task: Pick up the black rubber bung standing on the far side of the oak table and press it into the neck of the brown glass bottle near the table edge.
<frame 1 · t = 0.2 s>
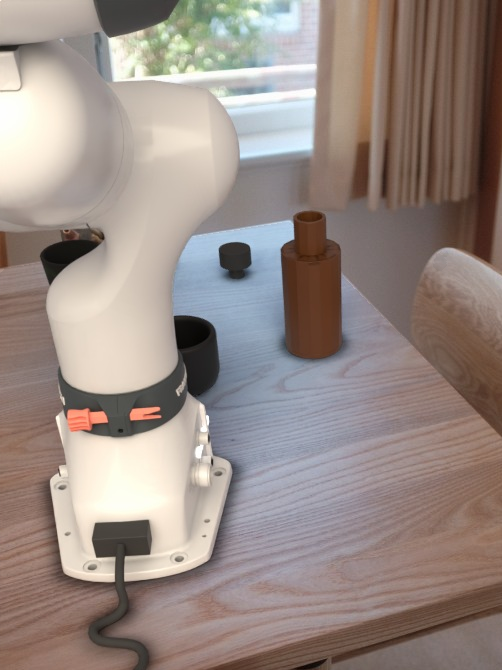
hand: (92, 20, 89), 39 cm above the table, tool pointing down, fingers open, 8 cm apart
bung: (236, 275, 133), on the table
cup: (90, 339, 119), on the table
mug: (173, 389, 110), on the table
bottle: (313, 344, 117), on the table
figurine 2: (88, 305, 127), on the table
figurine: (128, 272, 135), on the table
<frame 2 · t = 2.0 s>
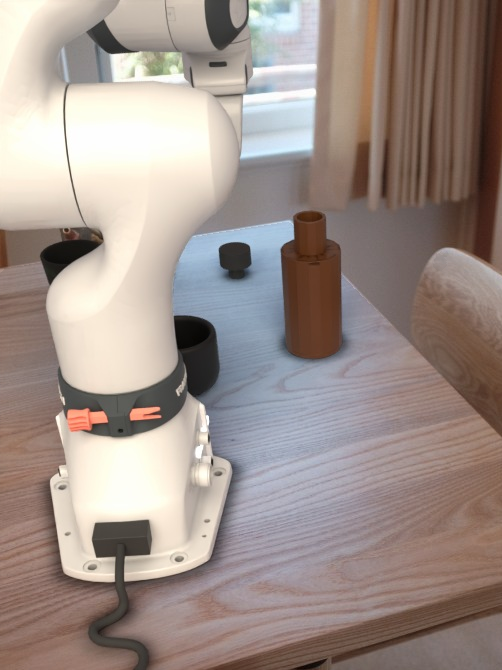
hand: (227, 171, 124), 15 cm above the table, tool pointing down, fingers open, 8 cm apart
nothing on the table moved.
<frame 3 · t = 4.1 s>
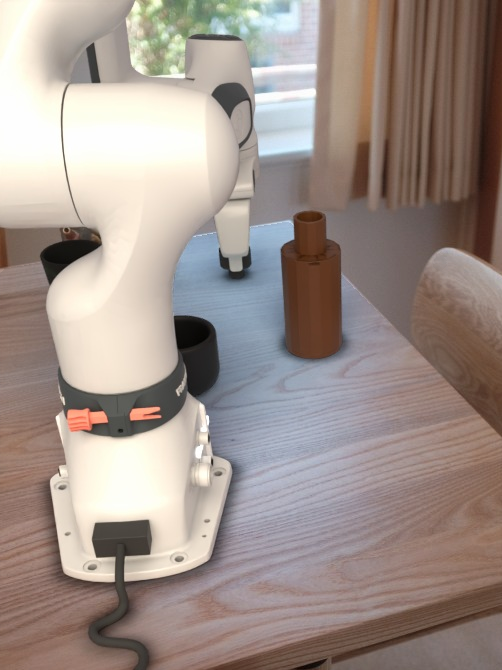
hand: (235, 260, 132), 2 cm above the table, tool pointing down, fingers closed on bung, 4 cm apart
bung: (236, 275, 133), on the table, touching gripper
everything else where it was.
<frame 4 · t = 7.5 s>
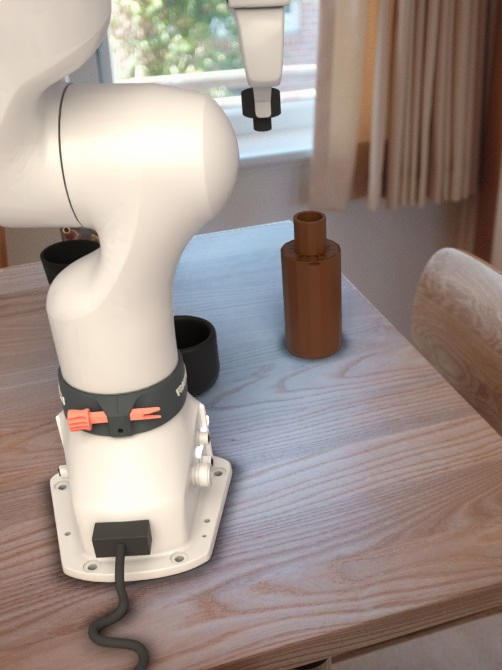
hand: (261, 109, 108), 26 cm above the table, tool pointing down, fingers closed on bung, 4 cm apart
bung: (262, 129, 109), point 24 cm above the table, touching gripper
everything else where it was.
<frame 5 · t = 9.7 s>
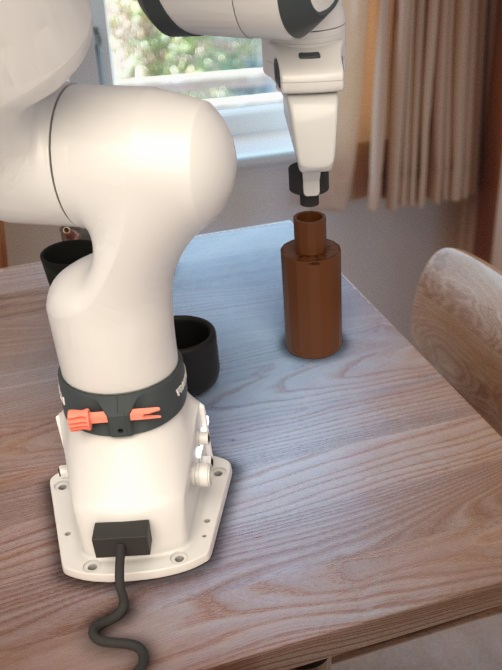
hand: (308, 184, 104), 21 cm above the table, tool pointing down, fingers closed on bung, 4 cm apart
bung: (309, 203, 106), point 18 cm above the table, touching gripper
everything else where it was.
when the fingers open (17 cm above the table, at t = 11.3 s): bung stays where it is, resting on bottle.
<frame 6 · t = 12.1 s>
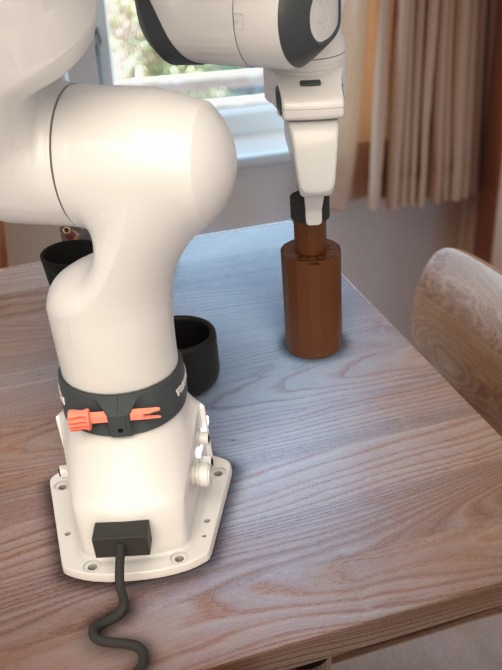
hand: (309, 207, 106), 18 cm above the table, tool pointing down, fingers open, 8 cm apart
bung: (310, 231, 108), point 15 cm above the table, touching bottle
everything else where it was.
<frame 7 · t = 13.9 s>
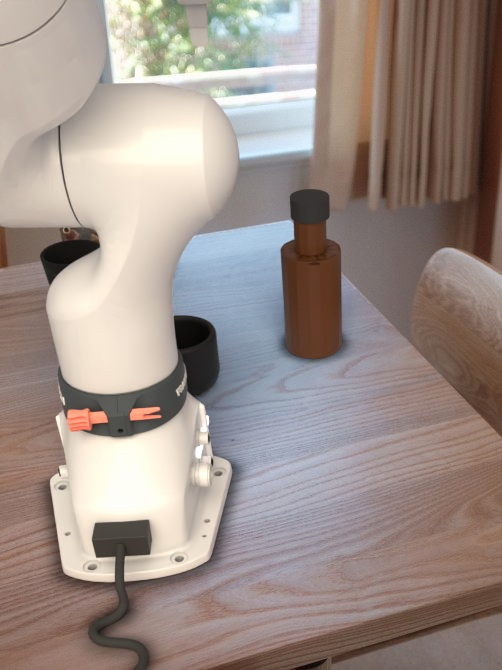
hand: (200, 34, 99), 35 cm above the table, tool pointing down, fingers open, 8 cm apart
nothing on the table moved.
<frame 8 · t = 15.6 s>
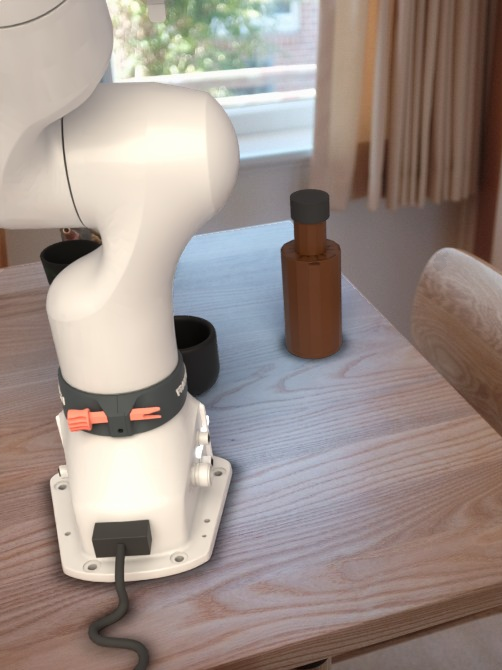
hand: (159, 11, 100), 37 cm above the table, tool pointing down, fingers open, 8 cm apart
nothing on the table moved.
at the end: bung 0.1 cm off-centre in the bottle, point 15.2 cm above the bottle's base; bung tilted 0° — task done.
